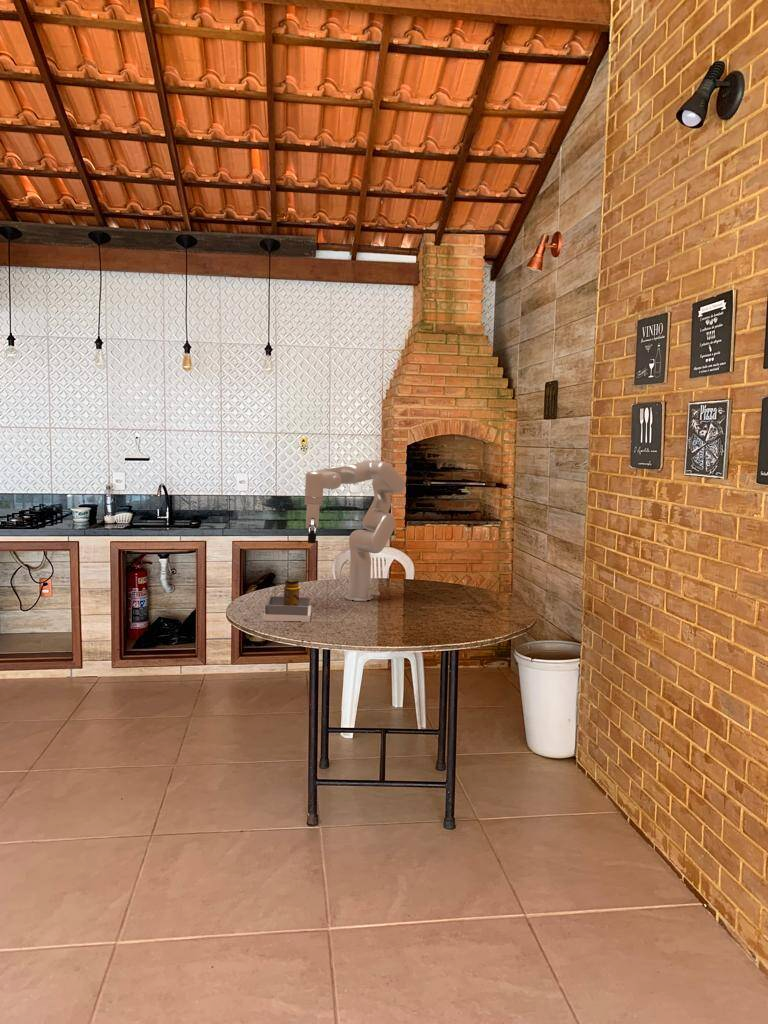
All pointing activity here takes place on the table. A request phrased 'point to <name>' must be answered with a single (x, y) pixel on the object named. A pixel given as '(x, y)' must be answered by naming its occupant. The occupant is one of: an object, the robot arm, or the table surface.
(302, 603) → the dock
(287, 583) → the condiment
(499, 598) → the table surface
